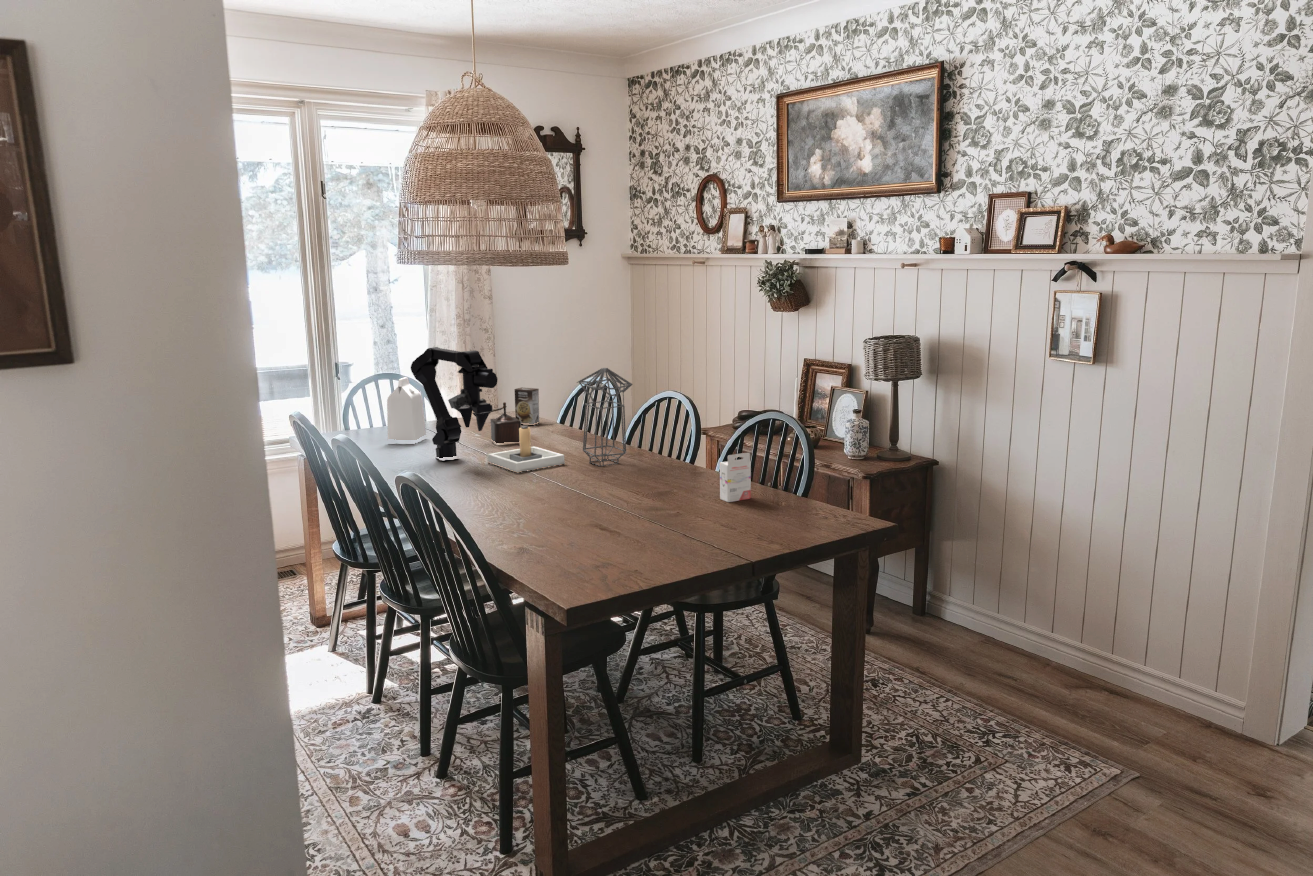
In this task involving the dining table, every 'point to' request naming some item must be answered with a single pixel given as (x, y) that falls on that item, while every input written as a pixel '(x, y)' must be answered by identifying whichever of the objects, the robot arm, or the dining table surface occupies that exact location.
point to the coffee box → (527, 405)
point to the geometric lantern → (628, 384)
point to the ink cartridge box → (735, 478)
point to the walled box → (526, 459)
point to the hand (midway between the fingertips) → (473, 429)
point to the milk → (405, 412)
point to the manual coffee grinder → (504, 427)
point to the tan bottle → (525, 441)
